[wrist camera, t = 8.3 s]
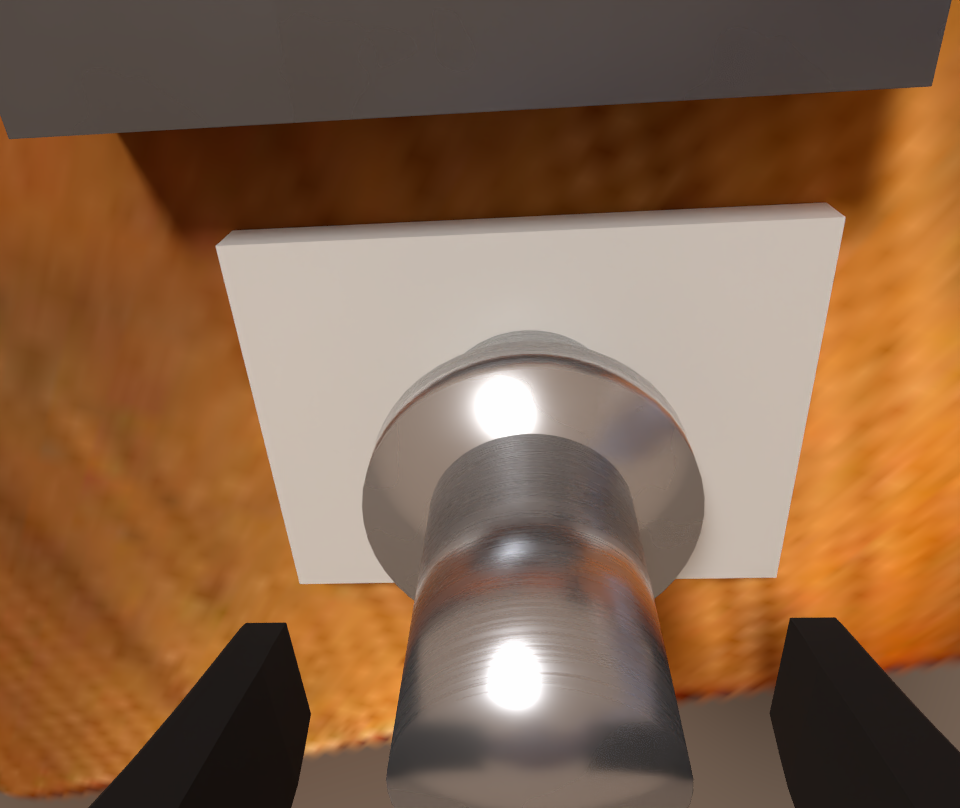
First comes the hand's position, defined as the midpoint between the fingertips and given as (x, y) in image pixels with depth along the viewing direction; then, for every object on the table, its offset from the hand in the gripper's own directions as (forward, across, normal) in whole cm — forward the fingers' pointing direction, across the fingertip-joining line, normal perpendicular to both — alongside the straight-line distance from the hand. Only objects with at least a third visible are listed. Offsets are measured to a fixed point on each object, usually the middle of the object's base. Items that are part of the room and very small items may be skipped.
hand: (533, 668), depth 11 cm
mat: (+7, 0, 0) cm, 7 cm away
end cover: (+6, 0, 0) cm, 7 cm away
